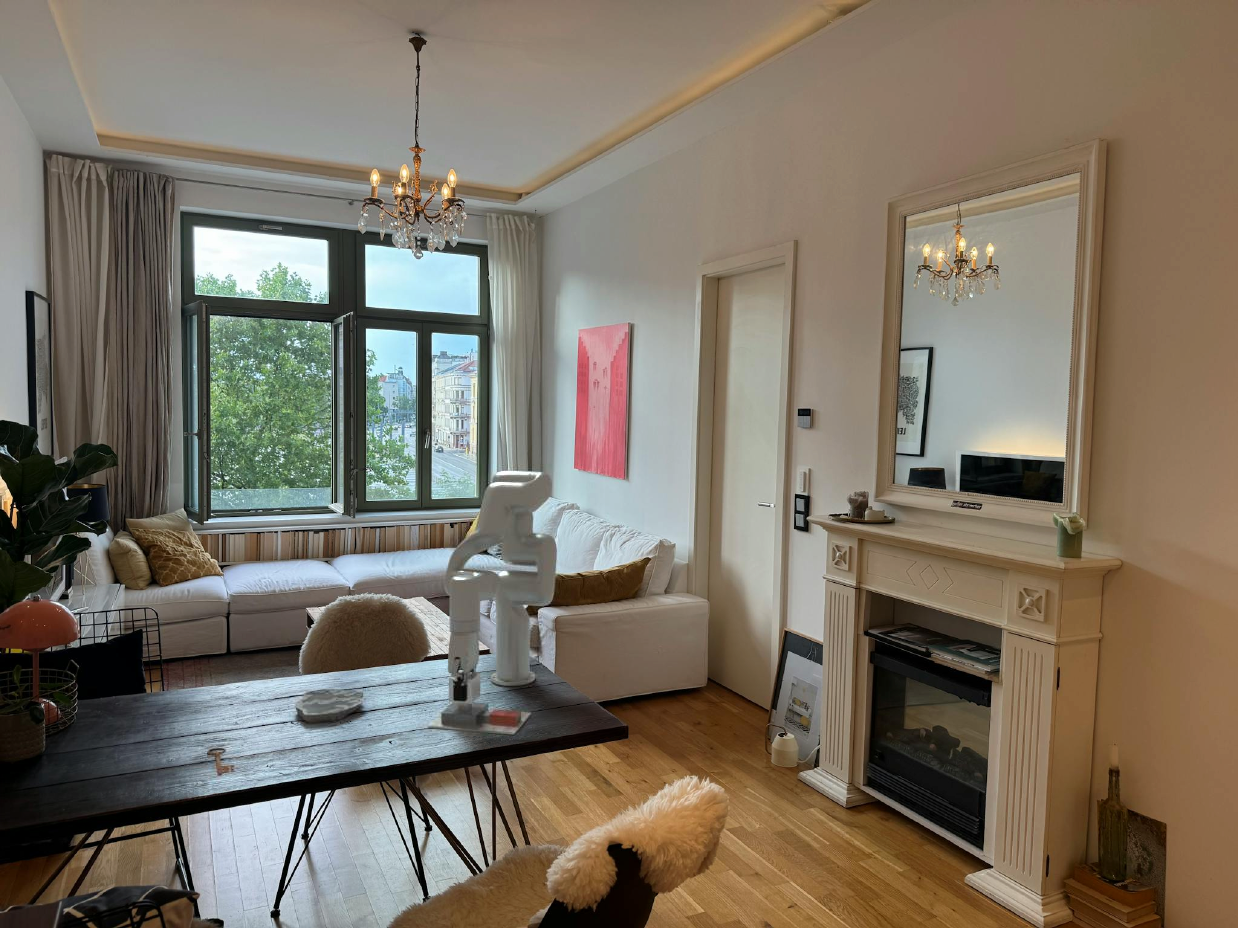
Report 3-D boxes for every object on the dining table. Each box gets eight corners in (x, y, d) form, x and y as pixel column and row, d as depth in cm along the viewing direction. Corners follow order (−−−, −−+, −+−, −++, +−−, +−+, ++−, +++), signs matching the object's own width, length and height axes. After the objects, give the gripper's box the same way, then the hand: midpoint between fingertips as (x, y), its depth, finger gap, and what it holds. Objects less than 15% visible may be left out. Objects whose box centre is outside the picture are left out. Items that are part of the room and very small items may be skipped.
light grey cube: (457, 694, 221) (457, 670, 220) (480, 695, 220) (480, 672, 219) (448, 701, 215) (448, 677, 215) (471, 703, 214) (471, 679, 213)
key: (239, 774, 186) (234, 749, 200) (239, 770, 186) (235, 745, 200) (209, 777, 184) (206, 751, 197) (209, 773, 184) (207, 747, 197)
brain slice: (368, 720, 218) (368, 708, 217) (296, 729, 211) (296, 717, 211) (361, 695, 236) (361, 684, 236) (294, 703, 230) (294, 691, 229)
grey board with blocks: (449, 707, 226) (449, 681, 226) (530, 714, 222) (530, 687, 222) (427, 727, 212) (427, 699, 212) (514, 734, 208) (514, 706, 208)
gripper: (463, 616, 225) (462, 684, 226) (437, 632, 208) (437, 706, 210) (490, 618, 224) (490, 686, 225) (466, 634, 207) (466, 708, 208)
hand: (464, 695), depth 217 cm, fingers closed on light grey cube, 6 cm apart
